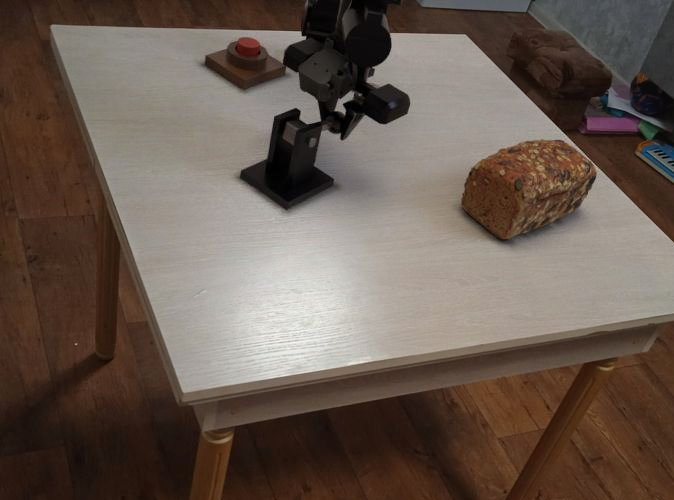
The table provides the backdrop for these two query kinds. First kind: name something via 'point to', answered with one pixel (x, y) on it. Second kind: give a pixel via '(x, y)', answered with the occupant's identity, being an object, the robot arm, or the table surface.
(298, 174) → the bracket
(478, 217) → the bread
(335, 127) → the lever
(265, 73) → the button block
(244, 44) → the button
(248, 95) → the table surface
